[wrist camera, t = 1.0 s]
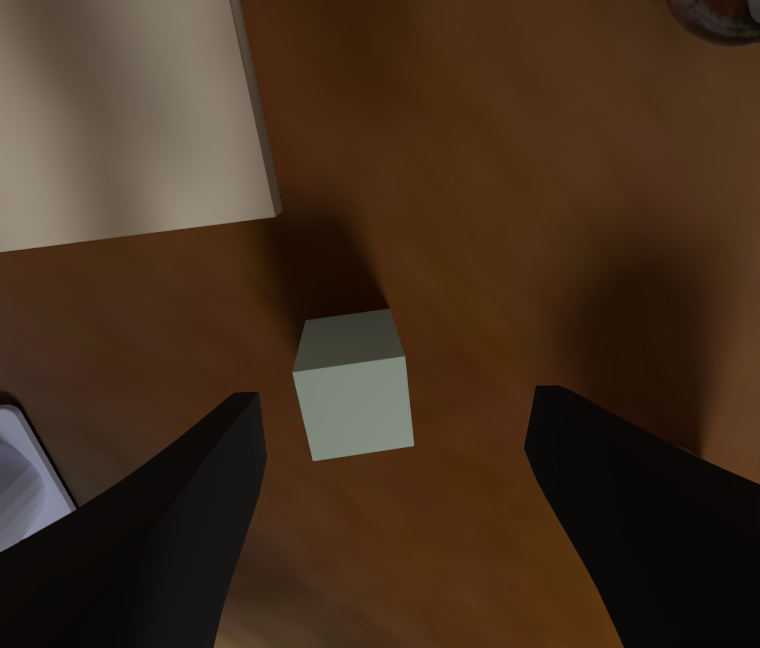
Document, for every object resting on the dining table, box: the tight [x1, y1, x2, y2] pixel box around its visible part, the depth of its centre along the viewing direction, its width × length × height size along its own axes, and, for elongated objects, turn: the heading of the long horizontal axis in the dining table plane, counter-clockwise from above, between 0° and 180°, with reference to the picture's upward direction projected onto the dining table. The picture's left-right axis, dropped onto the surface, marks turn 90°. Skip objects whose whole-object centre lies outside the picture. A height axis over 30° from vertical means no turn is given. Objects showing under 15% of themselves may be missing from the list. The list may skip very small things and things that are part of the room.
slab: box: [0, 0, 283, 252], centre depth 13 cm, size 12×12×2 cm
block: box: [293, 309, 414, 461], centre depth 17 cm, size 4×4×5 cm
